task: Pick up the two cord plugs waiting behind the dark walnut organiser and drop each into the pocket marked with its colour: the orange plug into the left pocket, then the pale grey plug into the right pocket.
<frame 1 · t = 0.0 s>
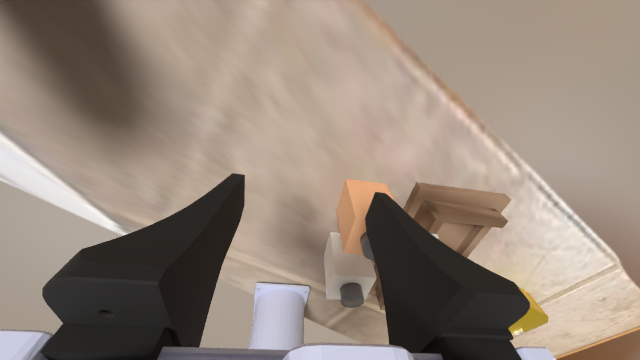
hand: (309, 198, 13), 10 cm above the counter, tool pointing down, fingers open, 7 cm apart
orange plug: (360, 197, 26), on the counter
element tile: (469, 301, 41), on the counter
grey plug: (343, 245, 30), on the counter
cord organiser: (424, 248, 31), on the counter
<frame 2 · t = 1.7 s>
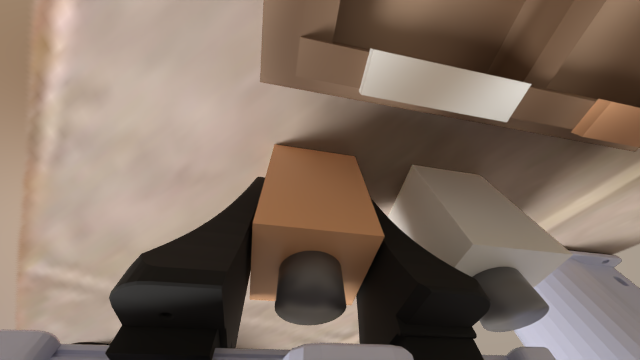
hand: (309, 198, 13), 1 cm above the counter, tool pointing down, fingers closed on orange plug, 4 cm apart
orange plug: (309, 183, 14), on the counter, touching gripper
grey plug: (430, 198, 15), on the counter
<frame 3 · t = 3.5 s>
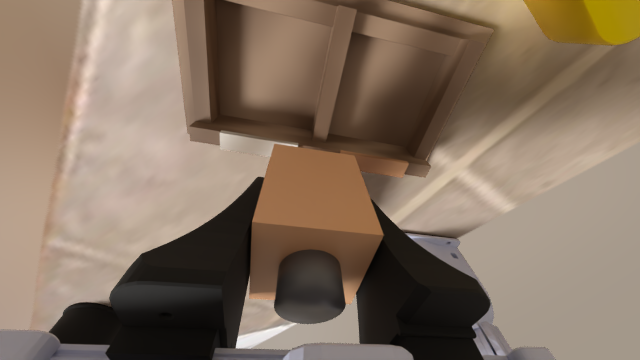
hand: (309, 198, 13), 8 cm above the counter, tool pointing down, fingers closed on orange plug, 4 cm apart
orange plug: (308, 182, 14), point 7 cm above the counter, touching gripper
aerosol can: (99, 316, 34), on the counter
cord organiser: (326, 83, 17), on the counter
when the fingers open (4 cm above the counter, at t = 5.2 s): orange plug drops 1 cm, resting on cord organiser.
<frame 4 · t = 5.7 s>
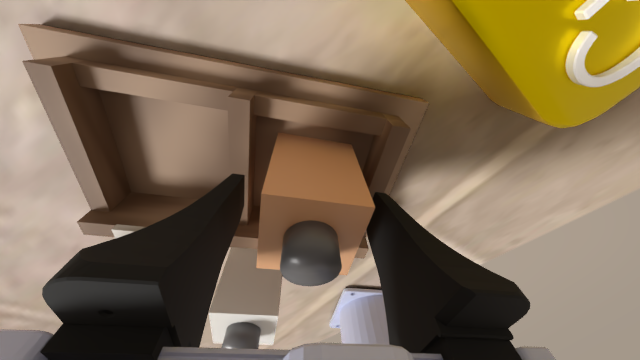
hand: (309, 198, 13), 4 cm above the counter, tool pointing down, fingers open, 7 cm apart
orange plug: (309, 170, 15), point 1 cm above the counter, touching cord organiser
grey plug: (258, 259, 21), on the counter
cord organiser: (250, 155, 15), on the counter
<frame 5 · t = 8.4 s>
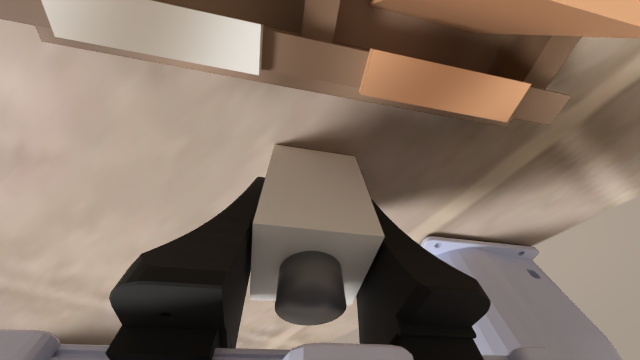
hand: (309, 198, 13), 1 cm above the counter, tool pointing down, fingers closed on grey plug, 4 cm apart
grey plug: (309, 183, 14), on the counter, touching gripper
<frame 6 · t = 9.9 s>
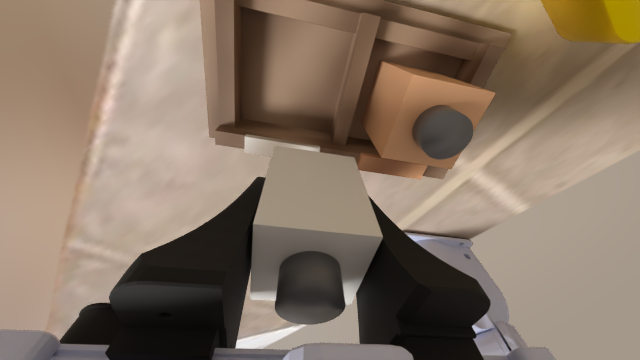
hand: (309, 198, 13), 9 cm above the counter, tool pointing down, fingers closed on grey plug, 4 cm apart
orange plug: (398, 99, 17), point 1 cm above the counter, touching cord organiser
grey plug: (309, 184, 14), point 7 cm above the counter, touching gripper
aerosol can: (114, 316, 34), on the counter
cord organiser: (345, 87, 18), on the counter
when the fingers open (4 cm above the counter, at t = 11.5 s): grey plug drops 1 cm, resting on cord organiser.
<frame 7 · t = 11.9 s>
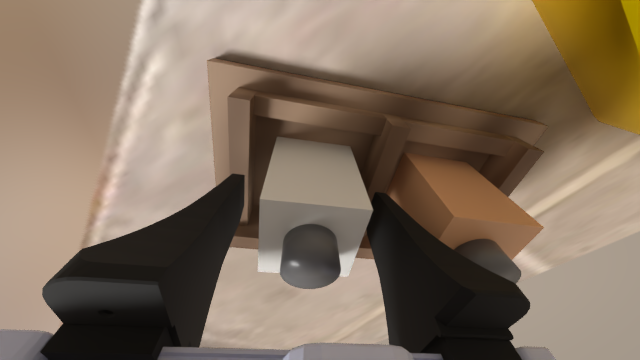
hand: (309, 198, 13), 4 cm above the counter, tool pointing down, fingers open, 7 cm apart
orange plug: (421, 185, 16), point 1 cm above the counter, touching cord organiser
grey plug: (309, 172, 15), point 1 cm above the counter, touching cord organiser
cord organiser: (364, 171, 17), on the counter
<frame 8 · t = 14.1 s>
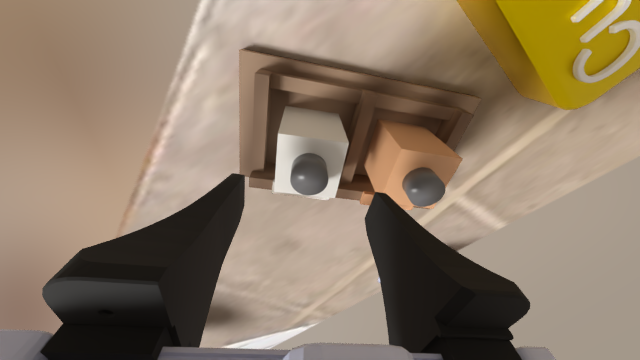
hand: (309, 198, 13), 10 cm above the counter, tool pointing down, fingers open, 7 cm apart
orange plug: (393, 145, 22), point 1 cm above the counter, touching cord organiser
grey plug: (308, 134, 21), point 1 cm above the counter, touching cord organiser
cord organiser: (350, 135, 22), on the counter
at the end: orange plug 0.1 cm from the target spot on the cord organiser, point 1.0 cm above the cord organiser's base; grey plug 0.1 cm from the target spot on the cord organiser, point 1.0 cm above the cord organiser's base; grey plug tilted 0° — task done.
